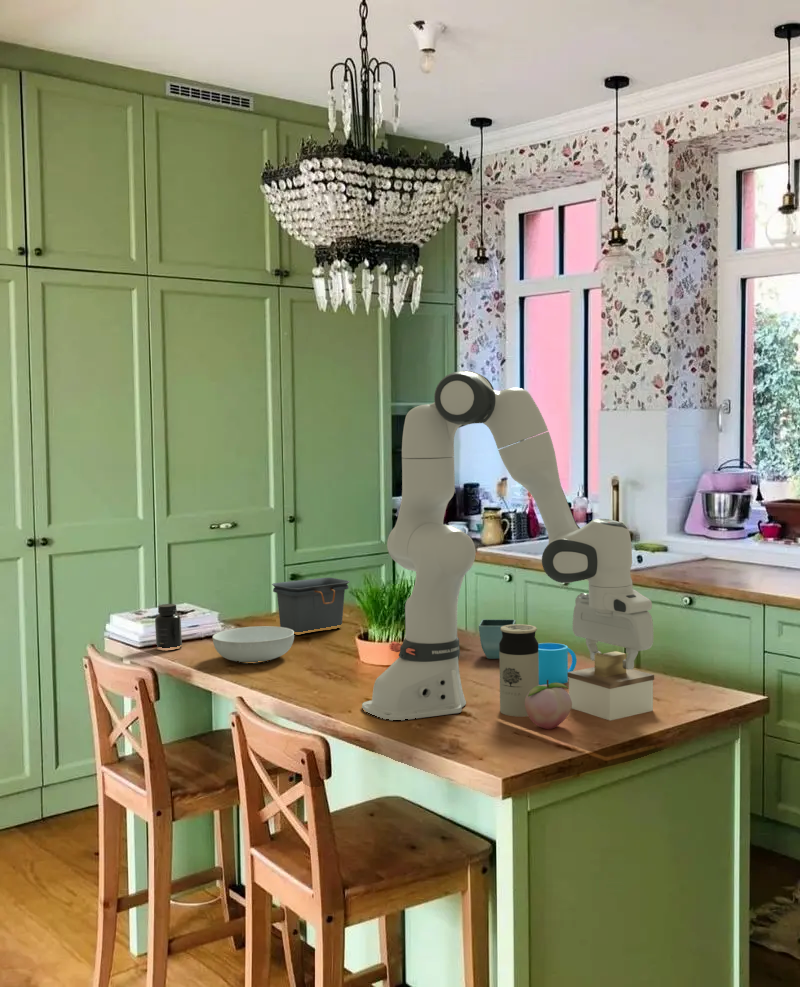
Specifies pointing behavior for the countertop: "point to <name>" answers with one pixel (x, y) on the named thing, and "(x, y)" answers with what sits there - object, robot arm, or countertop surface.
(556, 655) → the mug
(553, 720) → the decorative fruit
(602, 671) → the lid
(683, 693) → the countertop surface
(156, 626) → the supplement bottle
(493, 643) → the flower pot
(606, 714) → the box
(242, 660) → the serving bowl
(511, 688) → the travel mug
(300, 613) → the storage bin
